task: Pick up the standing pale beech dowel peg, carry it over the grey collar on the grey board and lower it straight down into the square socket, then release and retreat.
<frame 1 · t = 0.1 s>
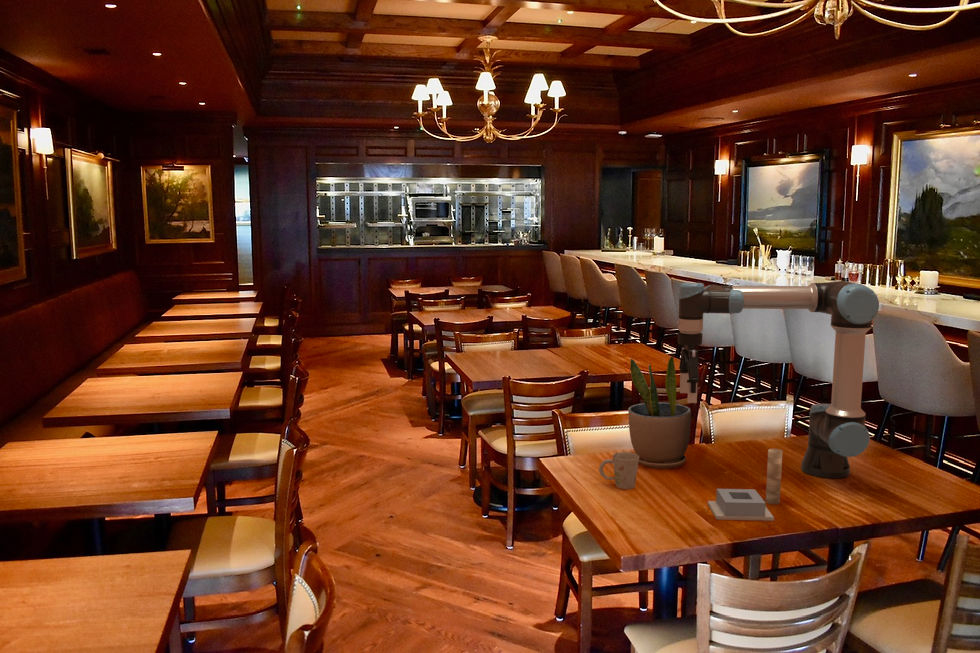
hand: (687, 397, 253), 28 cm above the table, fingers open, 13 cm apart
socket: (739, 512, 231), on the table
mug: (618, 486, 254), on the table
peg: (772, 501, 239), on the table
potted plant: (657, 463, 277), on the table
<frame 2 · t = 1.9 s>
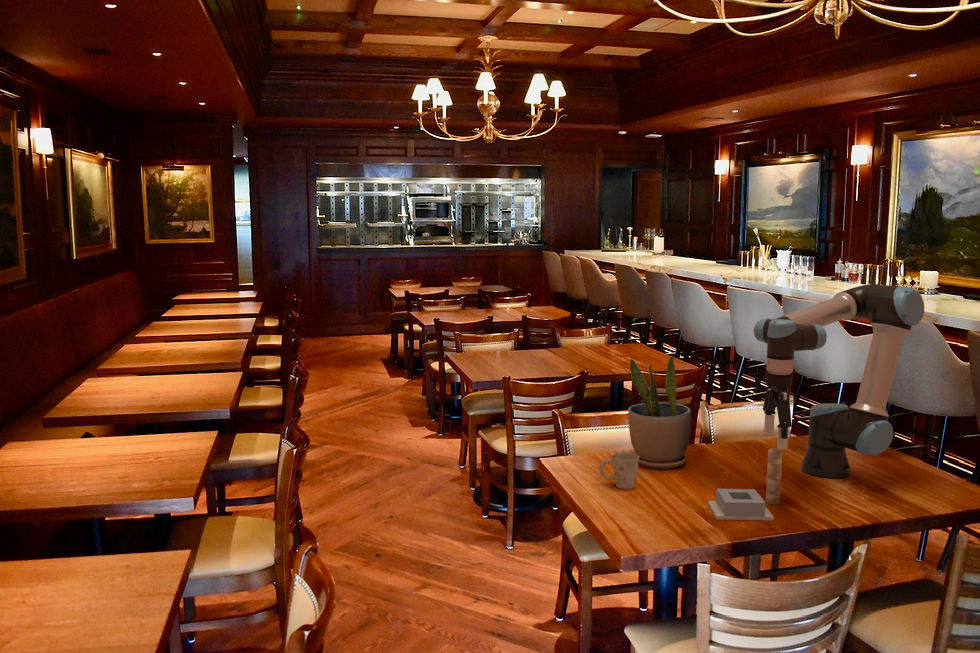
hand: (775, 442, 237), 19 cm above the table, fingers open, 13 cm apart
nothing on the table moved.
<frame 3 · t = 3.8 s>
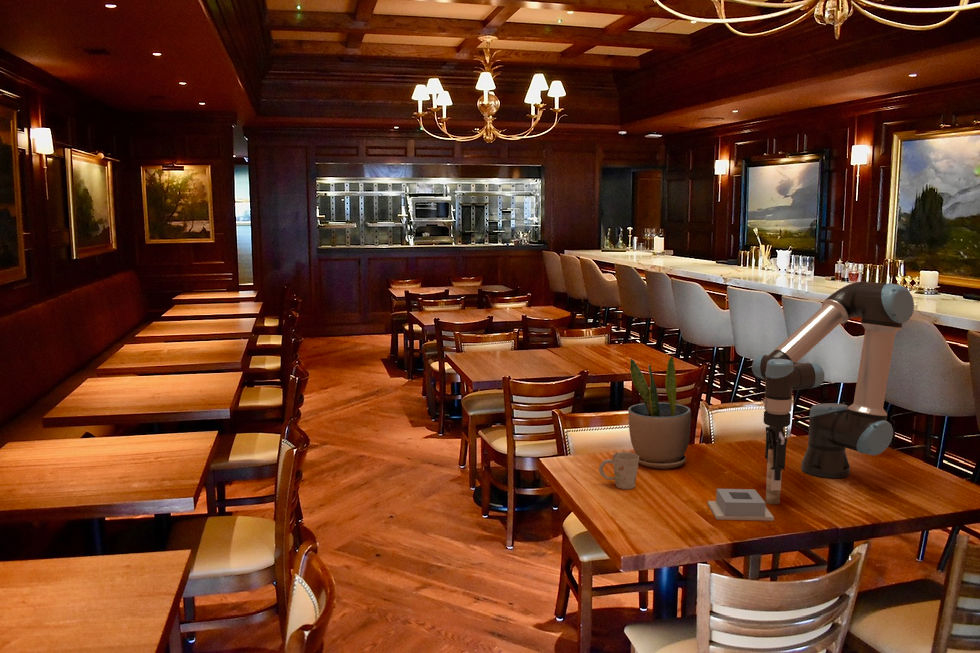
hand: (773, 487, 239), 5 cm above the table, fingers closed on peg, 4 cm apart
peg: (772, 501, 239), on the table, touching gripper
everything else where it was.
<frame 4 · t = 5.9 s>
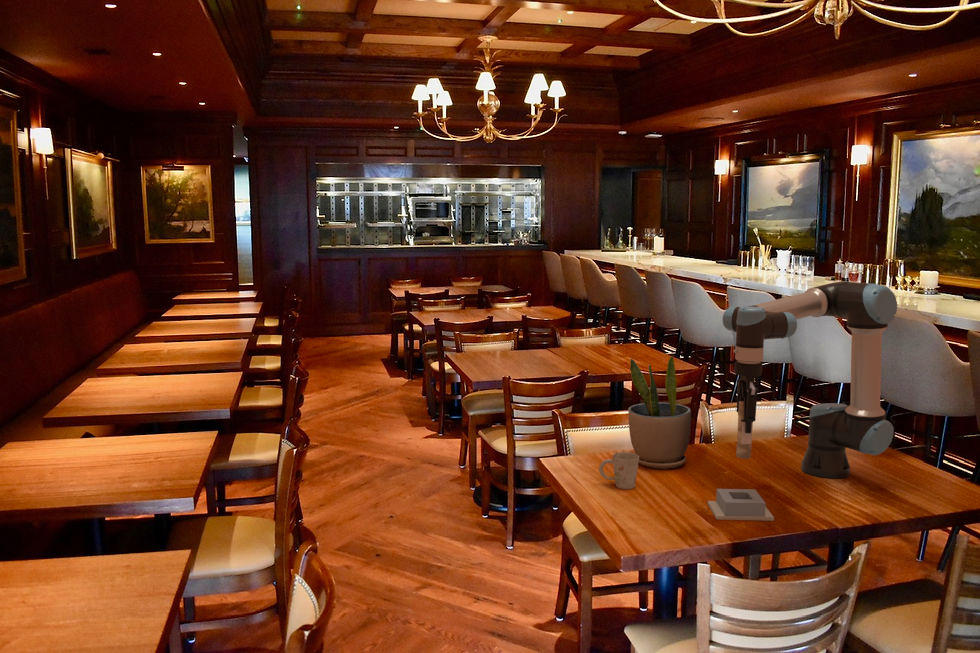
hand: (744, 441, 228), 21 cm above the table, fingers closed on peg, 4 cm apart
peg: (743, 456, 229), point 17 cm above the table, touching gripper
everything else where it was.
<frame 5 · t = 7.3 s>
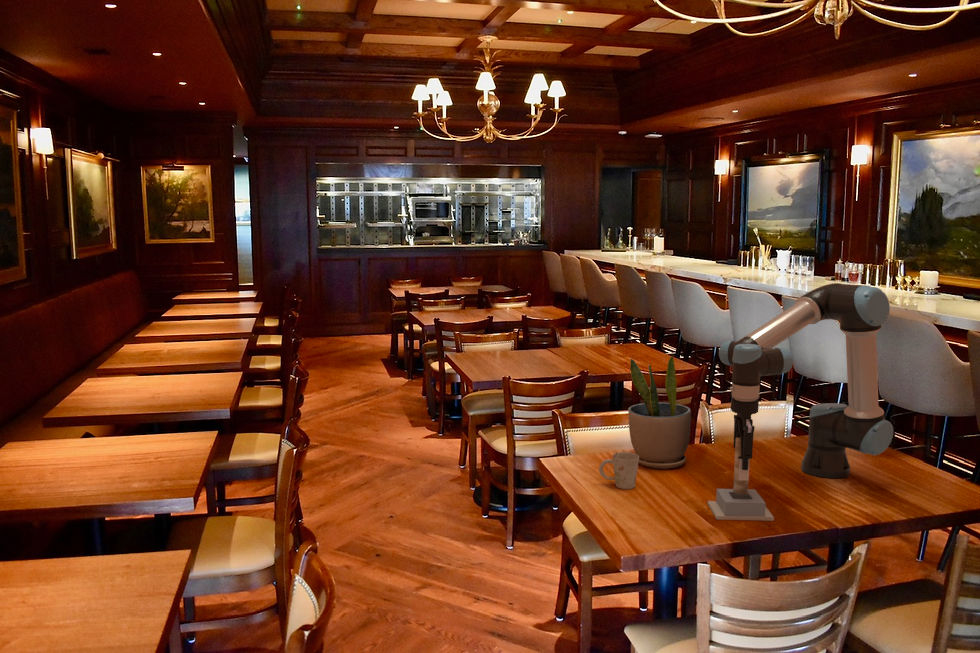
hand: (741, 477, 230), 11 cm above the table, fingers closed on peg, 4 cm apart
peg: (740, 492, 230), point 6 cm above the table, touching gripper
everything else where it was.
when the fingers open (7 cm above the table, at t = 8.2 s): peg drops 1 cm, resting on socket.
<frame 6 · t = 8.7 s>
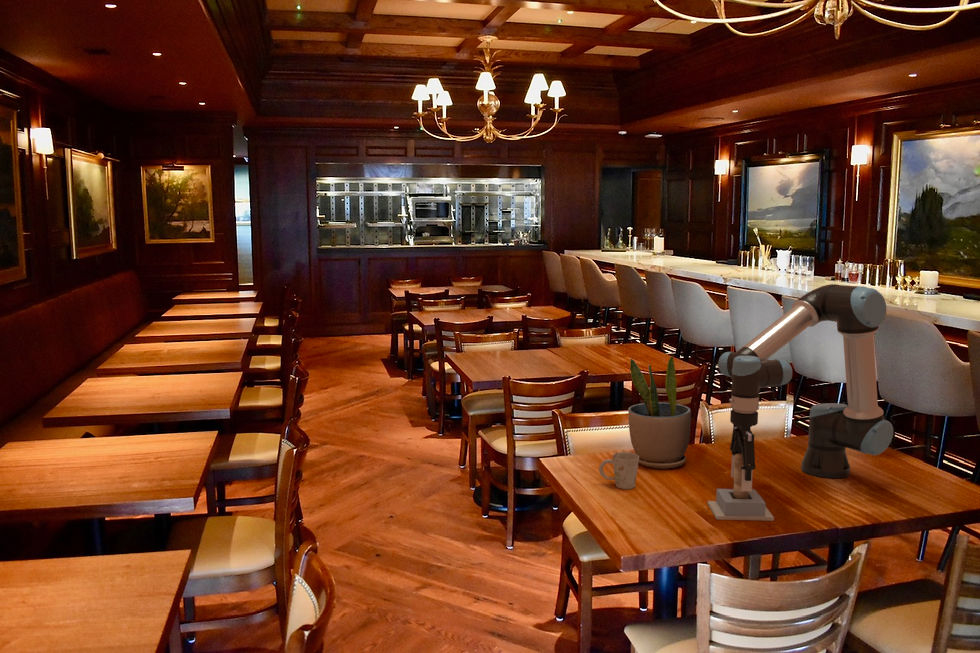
hand: (741, 483, 230), 9 cm above the table, fingers open, 11 cm apart
peg: (739, 508, 231), point 1 cm above the table, touching socket
everything else where it was.
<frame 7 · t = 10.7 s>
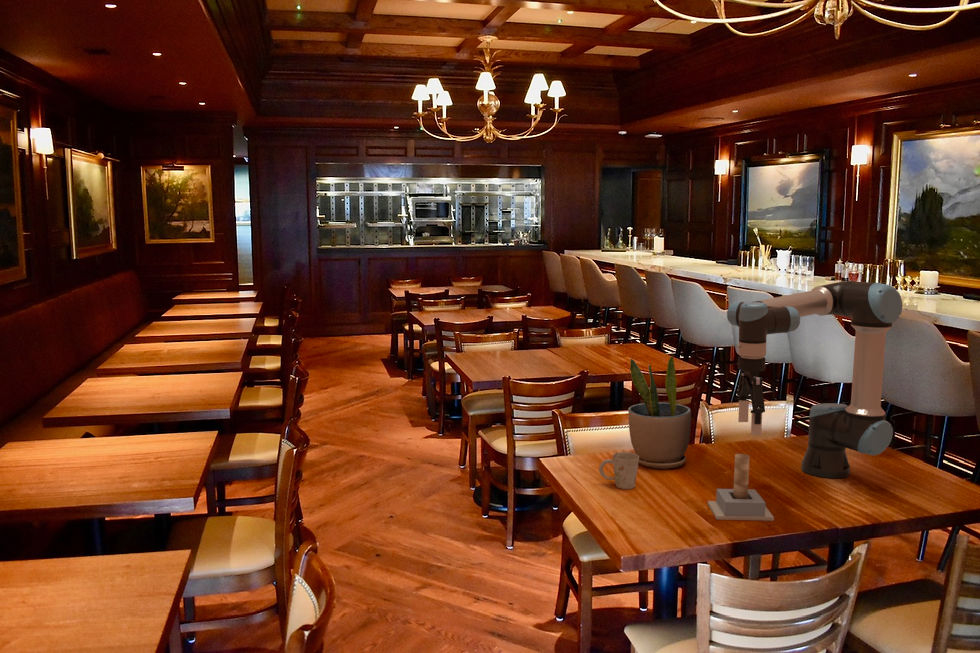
hand: (749, 428, 231), 24 cm above the table, fingers open, 13 cm apart
nothing on the table moved.
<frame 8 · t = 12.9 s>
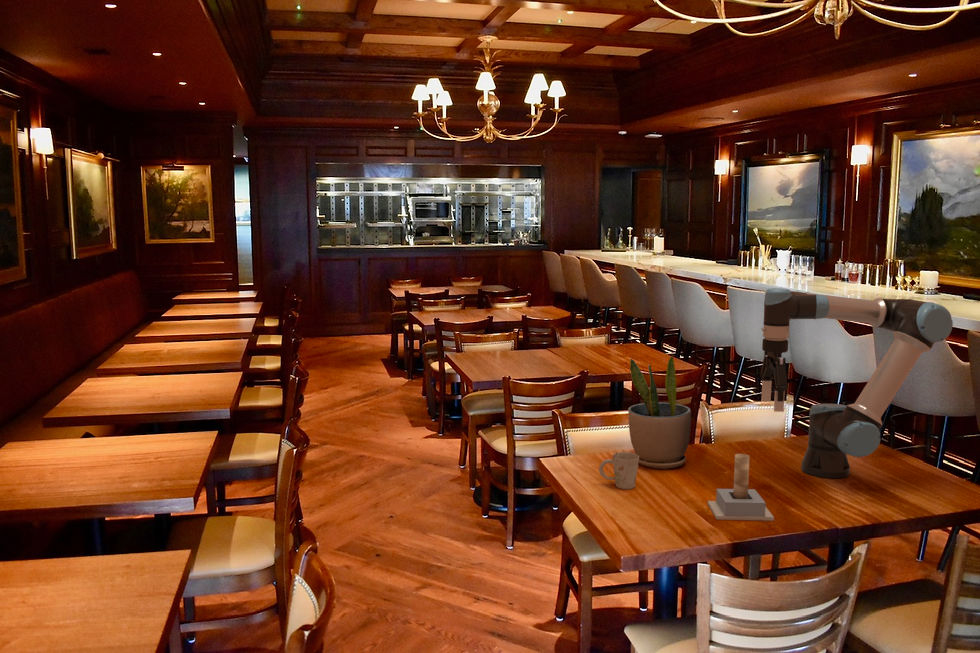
hand: (772, 406, 247), 27 cm above the table, fingers open, 13 cm apart
nothing on the table moved.
at the end: peg 0.0 cm off-centre on the socket, point 1.0 cm above the socket's base; peg tilted 0°; the gripper is holding nothing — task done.
